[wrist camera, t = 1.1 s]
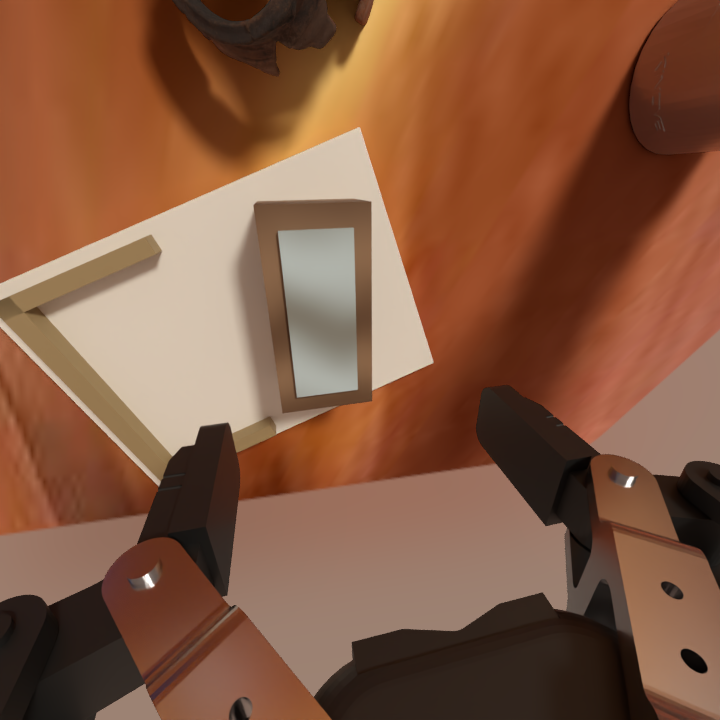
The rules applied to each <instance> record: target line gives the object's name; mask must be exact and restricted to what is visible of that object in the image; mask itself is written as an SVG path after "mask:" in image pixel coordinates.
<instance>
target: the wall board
mask: <svg viewBox="0 0 720 720" xmlns="http://www.w3.org/2000/svg"><path fill="white" fill-rule="evenodd" d="M318 199H359V200H365V201H371V212H372V390H375V389H377V388H379V387H381V386H383V385H386V384H388V383H390V382H392V381H394V380H397V379H399V378H401V377H403V376H405V375H408V374H410V373H412V372H414V371H416V370H419V369H421V368H423V367H425V366H427V365H430V364H432V363H434V362H433V359H432V356H431V353H430V349H429V346H428V343H427V340H426V337H425V334H424V330H423V327H422V324H421V321H420V318H419V314H418V311H417V308H416V305H415V302H414V298H413V295H412V292H411V289H410V286H409V283H408V279H407V276H406V273H405V270H404V267H403V263H402V260H401V257H400V254H399V251H398V247H397V244H396V241H395V238H394V235H393V231H392V228H391V225H390V222H389V219H388V216H387V212H386V209H385V206H384V203H383V200H382V196H381V193H380V190H379V187H378V184H377V180H376V177H375V174H374V171H373V168H372V164H371V161H370V158H369V155H368V152H367V149H366V145H365V142H364V139H363V136H362V133H361V129H360V127H358V128H356V129H354V130H351V131H349V132H347V133H345V134H342V135H340V136H338V137H335V138H333V139H331V140H329V141H326V142H324V143H322V144H319V145H317V146H315V147H312V148H310V149H308V150H306V151H303V152H301V153H299V154H296V155H294V156H292V157H290V158H287V159H285V160H283V161H280V162H278V163H276V164H273V165H271V166H269V167H267V168H264V169H262V170H260V171H257V172H255V173H253V174H251V175H248V176H246V177H244V178H241V179H239V180H237V181H235V182H232V183H230V184H228V185H225V186H223V187H221V188H218V189H216V190H214V191H212V192H209V193H207V194H205V195H202V196H200V197H198V198H196V199H193V200H191V201H189V202H186V203H184V204H182V205H179V206H177V207H175V208H173V209H170V210H168V211H166V212H163V213H161V214H159V215H157V216H154V217H152V218H150V219H147V220H145V221H143V222H141V223H138V224H136V225H134V226H131V227H129V228H127V229H124V230H122V231H120V232H118V233H115V234H113V235H111V236H108V237H106V238H104V239H102V240H99V241H97V242H95V243H92V244H90V245H88V246H85V247H83V248H81V249H79V250H76V251H74V252H72V253H69V254H67V255H65V256H63V257H60V258H58V259H56V260H53V261H51V262H49V263H47V264H44V265H42V266H40V267H37V268H35V269H33V270H30V271H28V272H26V273H24V274H21V275H19V276H17V277H14V278H12V279H10V280H8V281H5V282H3V283H1V284H0V327H1V328H2V329H3V330H4V331H5V332H6V333H7V334H8V335H9V336H10V337H11V338H12V339H13V340H14V341H15V342H16V343H17V344H18V345H19V346H20V347H21V348H22V349H23V350H24V351H25V352H26V353H27V354H28V355H29V356H30V358H31V359H32V360H33V361H34V362H35V363H36V364H37V365H38V366H39V367H40V368H41V369H42V370H43V371H44V372H45V373H46V374H47V375H48V376H49V377H50V378H51V379H52V380H53V381H54V382H55V383H56V384H57V385H58V386H59V387H60V388H61V389H62V390H63V391H64V392H65V393H66V394H67V395H68V396H69V397H70V398H71V399H72V400H73V401H74V402H75V403H76V404H77V405H78V406H79V407H80V408H81V409H82V410H83V411H84V412H85V413H86V414H87V415H88V416H89V417H90V418H91V419H92V420H93V421H94V422H95V423H96V424H97V425H98V426H99V427H100V428H101V429H102V430H103V431H104V432H105V433H106V434H107V435H108V436H109V437H110V438H111V439H112V440H113V441H114V442H115V443H116V444H117V445H118V446H119V447H120V448H121V449H122V450H123V451H124V452H125V453H126V454H127V455H128V456H129V457H130V458H131V459H132V460H133V461H134V462H135V463H136V464H137V465H138V466H139V467H140V468H141V469H142V470H143V471H144V472H145V473H146V474H147V475H148V476H149V477H150V478H151V479H152V480H153V481H154V482H155V483H156V484H157V485H158V486H159V485H160V483H161V480H162V479H163V475H164V472H165V469H166V467H167V464H168V462H169V460H170V459H171V458H172V457H173V456H174V455H175V454H176V452H177V451H178V450H179V449H180V448H181V447H184V446H191V445H195V441H196V438H197V435H198V431H199V428H200V427H201V426H205V425H212V424H220V423H227V422H228V423H229V424H230V427H231V431H232V436H233V440H234V444H235V449H236V453H237V452H240V451H242V450H244V449H246V448H248V447H251V446H253V445H255V444H257V443H259V442H262V441H264V440H266V439H268V438H270V437H273V436H275V435H276V434H278V433H280V432H282V431H284V430H286V429H289V428H291V427H293V426H295V425H297V424H300V423H302V422H304V421H306V420H308V419H311V418H313V417H315V416H317V415H319V414H322V413H324V412H326V411H328V410H330V409H333V408H335V407H337V406H333V407H326V408H318V409H311V410H304V411H297V412H289V413H282V406H281V399H280V392H279V385H278V378H277V371H276V363H275V356H274V349H273V342H272V335H271V328H270V321H269V314H268V306H267V299H266V292H265V285H264V278H263V271H262V264H261V256H260V249H259V242H258V235H257V228H256V221H255V214H254V207H253V205H254V204H255V203H256V202H257V201H283V200H318Z"/></svg>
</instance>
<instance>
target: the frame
mask: <svg viewBox="0 0 720 720" xmlns="http://www.w3.org/2000/svg"><path fill="white" fill-rule="evenodd" d="M253 207H254V214H255V221H256V228H257V235H258V242H259V249H260V256H261V264H262V271H263V278H264V285H265V292H266V299H267V306H268V314H269V321H270V328H271V335H272V342H273V349H274V356H275V363H276V371H277V378H278V385H279V392H280V399H281V406H282V413H289V412H297V411H304V410H311V409H318V408H326V407H333V406H340V405H347V404H355V403H362V402H369V401H372V212H371V201H365V200H359V199H318V200H283V201H257V202H256V203H255V204H254V205H253Z"/></svg>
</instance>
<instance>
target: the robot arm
mask: <svg viewBox="0 0 720 720" xmlns="http://www.w3.org/2000/svg"><path fill="white" fill-rule="evenodd" d="M629 108H630V120H631V124H632V127H633V131H634V133H635V135H636V137H637V139H638V140H639V142H640V143H641V144H642V145H643V146H644V147H645V148H646V149H647V150H649V151H651V152H653V153H656V154H664V155H671V154H684V153H697V152H710V151H720V0H679V1H677V2H676V3H675V4H674V5H673V6H672V7H671V8H670V9H669V10H668V11H667V12H666V14H665V15H664V16H663V17H662V18H661V20H660V21H659V23H658V24H657V25H656V27H655V28H654V29H653V31H652V32H651V34H650V36H649V38H648V40H647V42H646V44H645V46H644V47H643V49H642V52H641V54H640V57H639V60H638V62H637V65H636V67H635V71H634V75H633V80H632V84H631V90H630V101H629ZM476 432H477V437H478V440H479V442H480V444H481V445H482V446H483V448H484V449H485V450H486V451H487V453H488V454H489V455H490V457H491V458H492V459H493V460H494V462H495V463H496V464H497V465H498V467H499V468H500V469H501V470H502V471H503V473H504V474H505V475H506V477H507V478H508V479H509V480H510V482H511V483H512V484H513V485H514V487H515V488H516V489H517V490H518V492H519V493H520V494H521V496H522V497H523V498H524V499H525V501H526V502H527V503H528V504H529V506H530V507H531V508H532V509H533V511H534V512H535V513H536V514H537V516H538V517H539V518H540V519H541V521H542V522H543V523H544V524H545V526H549V525H553V524H557V523H562V522H563V523H564V524H565V525H566V527H567V530H566V533H565V555H566V574H567V592H568V600H567V609H566V611H563V610H558V609H553V607H552V606H551V604H550V603H549V601H548V600H547V598H546V597H545V595H544V594H543V593H539V594H535V595H531V596H527V597H524V598H520V599H516V600H512V601H509V602H504V603H501V604H498V605H497V606H495V607H494V608H492V609H491V610H490V611H488V612H487V613H485V614H484V615H482V616H481V617H479V618H478V619H476V620H475V621H473V622H472V623H471V624H469V625H468V626H466V627H465V628H463V629H461V630H458V631H436V630H413V629H412V630H411V629H401V630H397V631H393V632H390V633H386V634H382V635H378V636H374V637H370V638H367V639H362V640H359V641H355V642H352V656H353V660H352V661H351V662H349V663H348V664H346V665H345V666H343V667H342V668H341V669H339V670H338V671H337V672H336V673H335V674H334V675H332V676H331V677H330V678H329V679H328V681H327V682H326V683H325V684H324V685H323V686H322V687H321V688H320V690H319V691H318V692H317V693H316V695H315V696H314V697H313V696H312V695H311V694H310V692H309V691H308V690H307V689H306V687H305V686H304V685H303V684H302V683H301V681H300V680H299V679H298V678H297V676H296V675H295V674H294V673H293V672H292V670H291V669H290V668H289V667H288V665H287V664H286V663H285V662H284V661H283V659H282V658H281V657H280V656H279V654H278V653H277V652H276V651H275V650H274V648H273V647H272V646H271V645H270V643H269V642H268V641H267V640H266V638H265V637H264V636H263V635H262V633H261V632H260V631H259V630H258V629H257V627H256V626H255V625H254V624H253V622H252V621H251V620H250V619H249V618H248V616H247V615H246V614H245V613H244V612H243V611H242V610H241V609H240V608H239V607H238V606H236V605H234V606H232V607H230V606H229V605H228V604H227V603H226V601H225V600H224V599H223V598H222V597H223V596H227V592H228V585H229V576H230V567H231V558H232V549H233V541H234V532H235V523H236V514H237V506H238V497H239V488H240V469H239V462H238V458H237V453H236V449H235V444H234V440H233V436H232V431H231V427H230V424H229V423H228V422H227V423H220V424H212V425H205V426H201V427H200V428H199V431H198V435H197V438H196V441H195V445H191V446H184V447H181V448H180V449H179V450H178V451H177V452H176V454H175V455H174V456H173V457H172V458H171V459H170V460H169V462H168V464H167V467H166V469H165V472H164V475H163V479H162V480H161V483H160V485H159V488H158V492H157V493H156V496H155V498H154V501H153V504H152V506H151V509H150V511H149V514H148V517H147V520H146V522H145V525H144V528H143V530H142V532H141V535H140V538H139V541H138V543H137V545H135V546H134V547H132V548H130V549H129V550H128V551H126V552H125V553H124V554H123V555H121V556H120V557H119V558H118V559H117V560H116V561H115V563H113V565H112V566H111V567H110V569H109V570H108V572H107V574H106V575H105V578H104V579H103V580H102V581H100V582H98V583H97V584H94V585H93V586H91V587H88V588H86V589H84V590H82V591H80V592H78V593H75V594H73V595H71V596H69V597H67V598H65V599H62V600H60V601H58V602H56V603H54V604H52V605H49V606H47V604H46V603H45V602H44V601H43V599H42V598H40V597H38V596H35V595H21V596H16V597H13V598H10V599H7V600H5V601H2V602H0V720H95V716H96V713H97V712H98V711H100V710H102V709H103V708H105V707H107V706H108V705H110V704H112V703H113V702H115V701H117V700H118V699H120V698H122V697H123V696H125V695H126V694H128V693H130V692H132V691H133V690H135V689H136V688H138V687H140V686H141V685H143V684H146V689H147V691H148V693H149V696H150V698H151V700H152V702H153V704H154V706H155V708H156V710H157V712H158V714H159V716H160V718H161V720H720V465H718V464H715V463H711V462H705V461H693V462H690V463H688V464H687V465H686V466H685V468H684V470H683V472H682V474H681V476H680V477H676V476H664V475H652V474H651V473H650V472H649V471H648V470H647V469H646V468H644V467H643V466H641V465H640V464H638V463H636V462H634V461H632V460H630V459H627V458H624V457H621V456H617V455H610V454H602V455H601V454H600V453H598V452H597V451H596V450H594V448H592V447H591V446H590V445H589V444H588V443H586V442H585V441H584V440H583V439H581V438H580V437H579V436H578V435H577V434H575V433H574V432H573V431H572V430H571V429H569V428H568V427H567V426H564V425H563V423H562V422H561V421H560V420H559V419H557V418H556V417H553V415H552V414H551V413H550V412H549V411H548V410H546V409H545V408H544V407H543V406H542V405H540V404H538V403H536V402H534V401H532V400H529V399H527V398H524V397H523V396H521V395H520V394H519V393H518V392H517V391H516V390H514V389H513V388H512V387H511V386H509V385H502V386H495V387H488V388H484V389H483V391H482V394H481V399H480V406H479V412H478V418H477V424H476Z"/></svg>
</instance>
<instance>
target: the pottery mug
mask: <svg viewBox="0 0 720 720" xmlns="http://www.w3.org/2000/svg"><path fill="white" fill-rule="evenodd" d="M172 1H173V2H174V3H175V5H176V6H177V7H178V8H179V10H180V11H181V12H182V13H184V14H185V15H186V16H187V18H188V20H189V21H190V22H191V23H192V24H193V25H194V26H195V27H196V28H197V29H198V30H199V31H201V32H202V34H203V35H204V36H205V37H206V38H207V39H208V40H212V41H213V42H214V44H215V45H216V46H217V48H218V49H219V50H220V51H221V52H222V53H224V54H226V55H228V56H229V57H231V58H234V59H236V60H238V61H241V62H244V63H246V64H249V65H251V66H253V67H255V68H257V69H260V70H261V71H263V72H265V73H268V74H271V75H274V76H279V74H280V72H279V69H278V67H277V64H276V42H277V41H278V42H280V43H282V44H284V45H285V46H287V47H288V48H293V49H297V50H301V49H305V48H308V47H314V48H317V49H321V48H323V47H324V46H325V45H326V44H327V43H328V42H329V40H330V39H331V38H332V37H333V36H334V34H335V32H336V24H335V23H334V21H333V20H332V19H331V17H330V16H329V15H328V13H327V3H326V0H269V2H268V3H267V4H266V6H265V7H264V8H263V9H262V10H261V11H260V12H259V13H257V14H256V15H254V16H253V17H252V18H251V19H247V20H245V21H229V20H226V19H223V18H221V17H219V16H218V15H216V14H214V13H213V12H211V11H210V10H209V9H208V8H207V7H206V6H205V5H204V4H203V3H202V2H201V1H200V0H172ZM373 1H374V0H359V4H358V7H357V10H356V13H355V20H356V21H357V22H358V23H359V24H361V25H362V26H364V25H365V24H366V23H367V21H368V18H369V15H370V12H371V9H372V5H373Z"/></svg>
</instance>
